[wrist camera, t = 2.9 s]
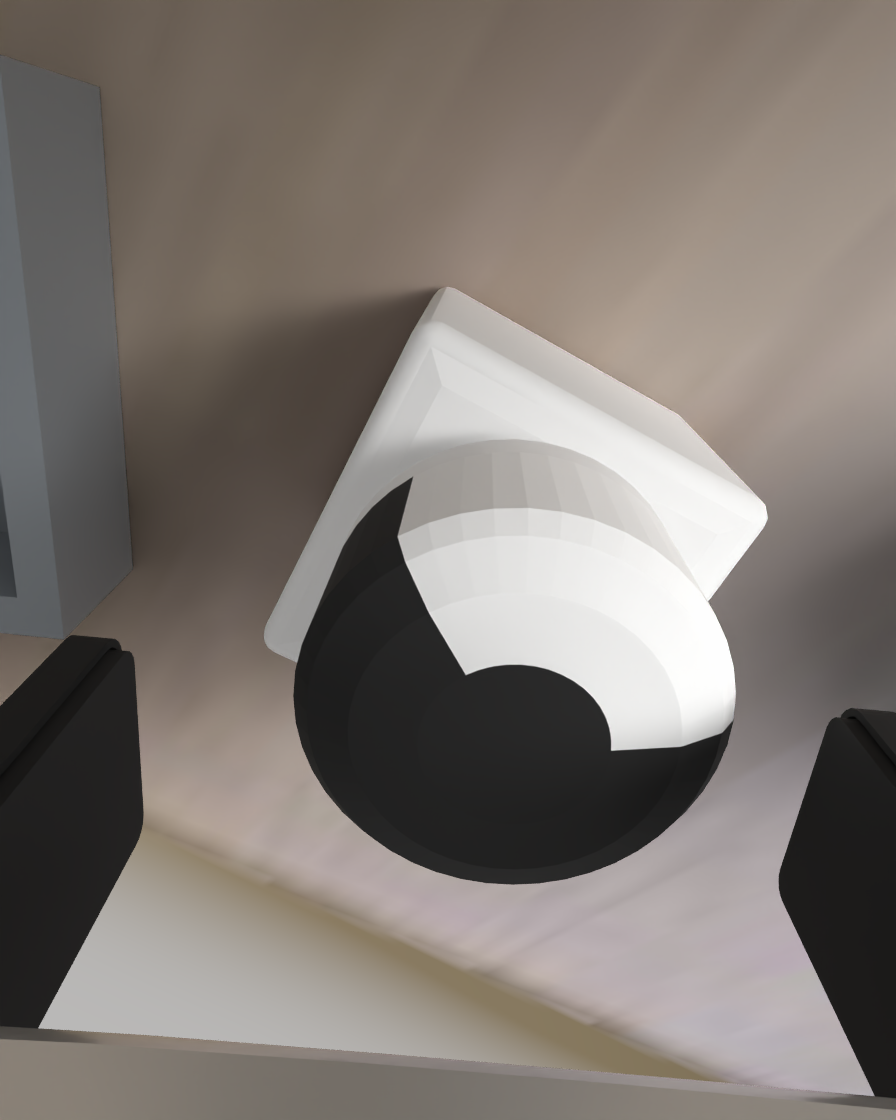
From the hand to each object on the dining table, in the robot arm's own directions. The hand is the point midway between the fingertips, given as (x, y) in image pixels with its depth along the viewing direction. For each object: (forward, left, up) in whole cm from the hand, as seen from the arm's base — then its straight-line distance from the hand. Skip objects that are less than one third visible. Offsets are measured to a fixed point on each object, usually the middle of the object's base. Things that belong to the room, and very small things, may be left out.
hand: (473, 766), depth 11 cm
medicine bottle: (0, -1, -12) cm, 12 cm away
